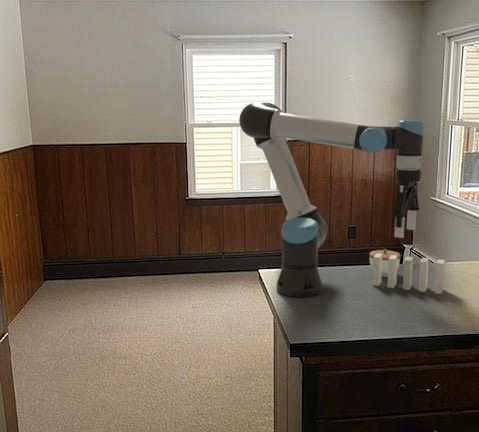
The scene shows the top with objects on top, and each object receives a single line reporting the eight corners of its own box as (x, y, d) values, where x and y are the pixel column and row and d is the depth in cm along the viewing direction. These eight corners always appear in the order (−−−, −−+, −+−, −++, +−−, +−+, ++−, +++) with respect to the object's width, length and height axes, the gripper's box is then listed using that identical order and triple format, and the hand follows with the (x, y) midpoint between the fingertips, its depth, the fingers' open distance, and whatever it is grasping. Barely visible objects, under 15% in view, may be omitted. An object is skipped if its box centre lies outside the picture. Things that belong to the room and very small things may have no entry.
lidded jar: (403, 272, 192) (404, 247, 190) (394, 280, 183) (395, 254, 181) (374, 268, 197) (375, 244, 196) (364, 276, 189) (365, 250, 187)
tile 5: (434, 293, 169) (436, 263, 167) (436, 288, 174) (438, 259, 172) (441, 294, 168) (443, 263, 166) (443, 289, 173) (444, 260, 171)
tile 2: (387, 287, 176) (388, 258, 174) (390, 283, 180) (391, 254, 178) (393, 288, 175) (394, 259, 173) (396, 283, 179) (397, 255, 177)
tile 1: (372, 285, 178) (373, 257, 176) (375, 281, 182) (376, 253, 180) (378, 286, 177) (379, 257, 175) (381, 282, 181) (382, 254, 180)
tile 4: (418, 291, 171) (420, 261, 169) (420, 286, 176) (422, 257, 174) (425, 292, 170) (426, 262, 169) (427, 287, 175) (428, 258, 173)
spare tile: (403, 289, 173) (404, 260, 172) (405, 284, 178) (406, 256, 176) (409, 290, 173) (410, 260, 171) (411, 285, 177) (412, 257, 175)
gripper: (409, 173, 156) (405, 242, 160) (430, 166, 177) (426, 227, 181) (384, 171, 160) (381, 239, 164) (408, 165, 181) (404, 225, 185)
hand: (405, 233), depth 172 cm, fingers open, 13 cm apart
